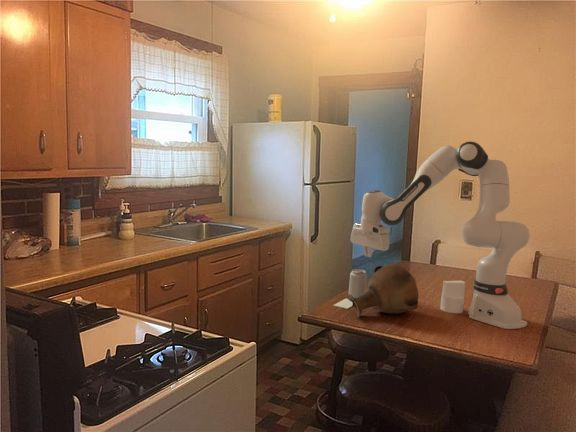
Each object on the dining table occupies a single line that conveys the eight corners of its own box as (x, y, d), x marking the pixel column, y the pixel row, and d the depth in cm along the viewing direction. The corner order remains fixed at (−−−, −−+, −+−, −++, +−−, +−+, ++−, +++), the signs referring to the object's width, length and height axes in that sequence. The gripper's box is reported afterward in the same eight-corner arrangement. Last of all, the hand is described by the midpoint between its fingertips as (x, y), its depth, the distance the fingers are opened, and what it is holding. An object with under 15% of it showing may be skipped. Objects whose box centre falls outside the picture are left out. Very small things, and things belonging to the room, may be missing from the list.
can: (366, 300, 216) (368, 273, 214) (349, 299, 216) (351, 272, 215) (364, 295, 224) (366, 269, 222) (347, 294, 224) (349, 268, 222)
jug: (406, 304, 213) (343, 321, 204) (398, 259, 213) (335, 273, 204) (435, 310, 194) (366, 328, 185) (426, 260, 194) (357, 276, 185)
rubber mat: (345, 299, 216) (345, 298, 216) (359, 302, 213) (359, 301, 213) (333, 306, 206) (333, 305, 206) (347, 309, 203) (347, 308, 203)
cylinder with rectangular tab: (448, 313, 204) (451, 285, 202) (436, 306, 212) (438, 279, 211) (467, 312, 206) (470, 284, 205) (454, 306, 215) (457, 278, 213)
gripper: (348, 223, 230) (346, 252, 232) (383, 230, 215) (380, 262, 217) (358, 222, 234) (355, 251, 236) (392, 229, 219) (390, 260, 221)
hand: (367, 256), depth 226 cm, fingers closed
